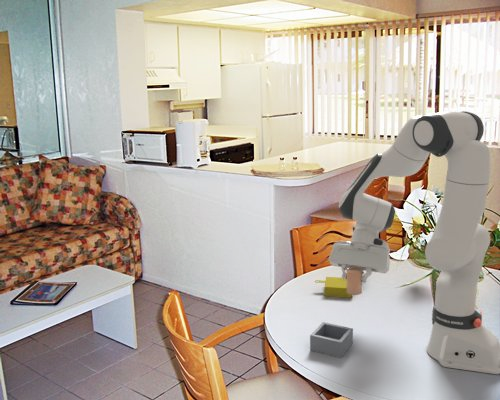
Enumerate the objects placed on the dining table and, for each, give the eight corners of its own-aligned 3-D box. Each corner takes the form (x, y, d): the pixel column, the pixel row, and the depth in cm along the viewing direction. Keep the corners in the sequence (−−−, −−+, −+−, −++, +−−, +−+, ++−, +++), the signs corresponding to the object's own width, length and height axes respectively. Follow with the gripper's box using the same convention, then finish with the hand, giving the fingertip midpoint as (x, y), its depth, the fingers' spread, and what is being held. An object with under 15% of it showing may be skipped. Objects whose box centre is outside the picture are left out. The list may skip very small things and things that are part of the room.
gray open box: (352, 343, 171) (353, 328, 170) (341, 357, 163) (341, 342, 162) (322, 336, 176) (322, 322, 175) (310, 350, 168) (310, 335, 167)
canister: (363, 290, 184) (364, 269, 182) (358, 295, 180) (359, 274, 178) (349, 288, 186) (349, 267, 185) (344, 293, 182) (344, 272, 180)
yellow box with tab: (316, 265, 219) (354, 267, 216) (316, 283, 221) (354, 285, 218) (312, 279, 204) (353, 281, 201) (312, 299, 206) (353, 301, 203)
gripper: (332, 235, 190) (321, 271, 184) (391, 242, 180) (381, 280, 174) (337, 244, 195) (326, 279, 189) (394, 251, 185) (385, 288, 179)
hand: (353, 280), depth 181 cm, fingers closed on canister, 5 cm apart
